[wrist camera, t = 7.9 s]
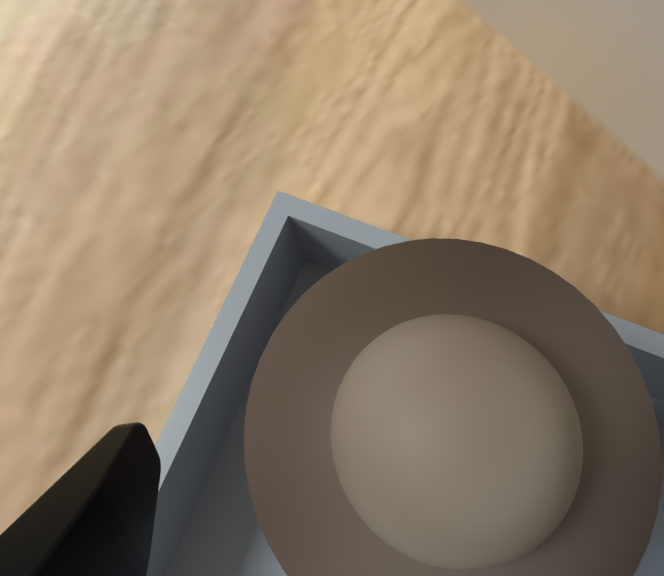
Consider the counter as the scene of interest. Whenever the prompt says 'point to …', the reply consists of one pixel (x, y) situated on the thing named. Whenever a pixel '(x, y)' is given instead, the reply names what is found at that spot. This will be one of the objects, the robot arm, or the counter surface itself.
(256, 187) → the counter surface
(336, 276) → the pepper mill
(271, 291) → the tote
